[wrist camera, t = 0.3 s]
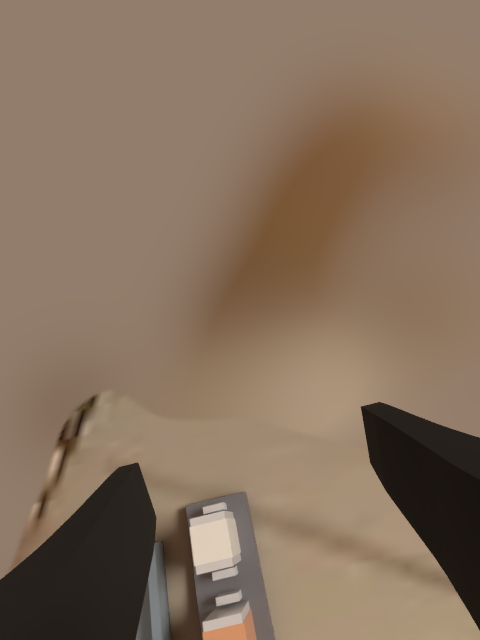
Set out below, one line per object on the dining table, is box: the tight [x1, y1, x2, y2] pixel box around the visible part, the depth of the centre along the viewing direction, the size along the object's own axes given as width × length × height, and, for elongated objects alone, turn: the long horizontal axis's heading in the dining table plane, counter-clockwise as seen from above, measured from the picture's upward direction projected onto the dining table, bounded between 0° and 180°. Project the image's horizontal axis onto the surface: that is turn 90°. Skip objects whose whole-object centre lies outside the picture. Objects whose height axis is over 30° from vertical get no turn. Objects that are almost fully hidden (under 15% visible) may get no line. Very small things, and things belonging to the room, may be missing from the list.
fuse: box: [189, 511, 241, 575], centre depth 32 cm, size 4×3×5 cm
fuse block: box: [186, 492, 275, 640], centre depth 31 cm, size 21×6×3 cm, turn 12°
